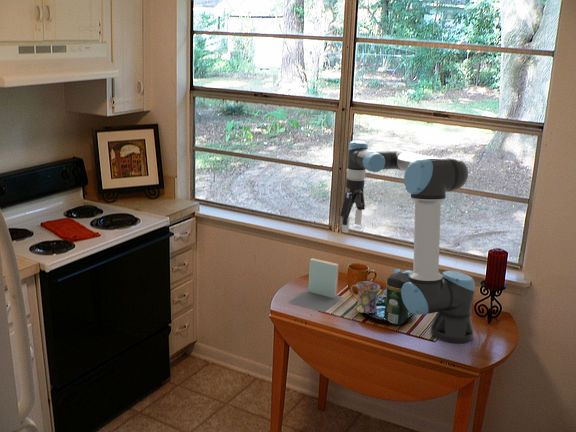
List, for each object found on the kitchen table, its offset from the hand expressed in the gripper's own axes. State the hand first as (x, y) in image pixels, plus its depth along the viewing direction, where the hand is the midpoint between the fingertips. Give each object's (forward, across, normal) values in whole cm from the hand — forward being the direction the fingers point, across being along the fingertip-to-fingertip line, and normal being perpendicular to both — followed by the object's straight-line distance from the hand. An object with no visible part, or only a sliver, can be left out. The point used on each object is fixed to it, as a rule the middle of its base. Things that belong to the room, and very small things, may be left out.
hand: (351, 228), depth 274 cm
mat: (+25, +25, -2) cm, 36 cm away
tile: (+24, +18, -3) cm, 31 cm away
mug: (+25, +22, +16) cm, 37 cm away
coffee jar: (+25, +24, +30) cm, 46 cm away
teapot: (+25, 0, +26) cm, 36 cm away
